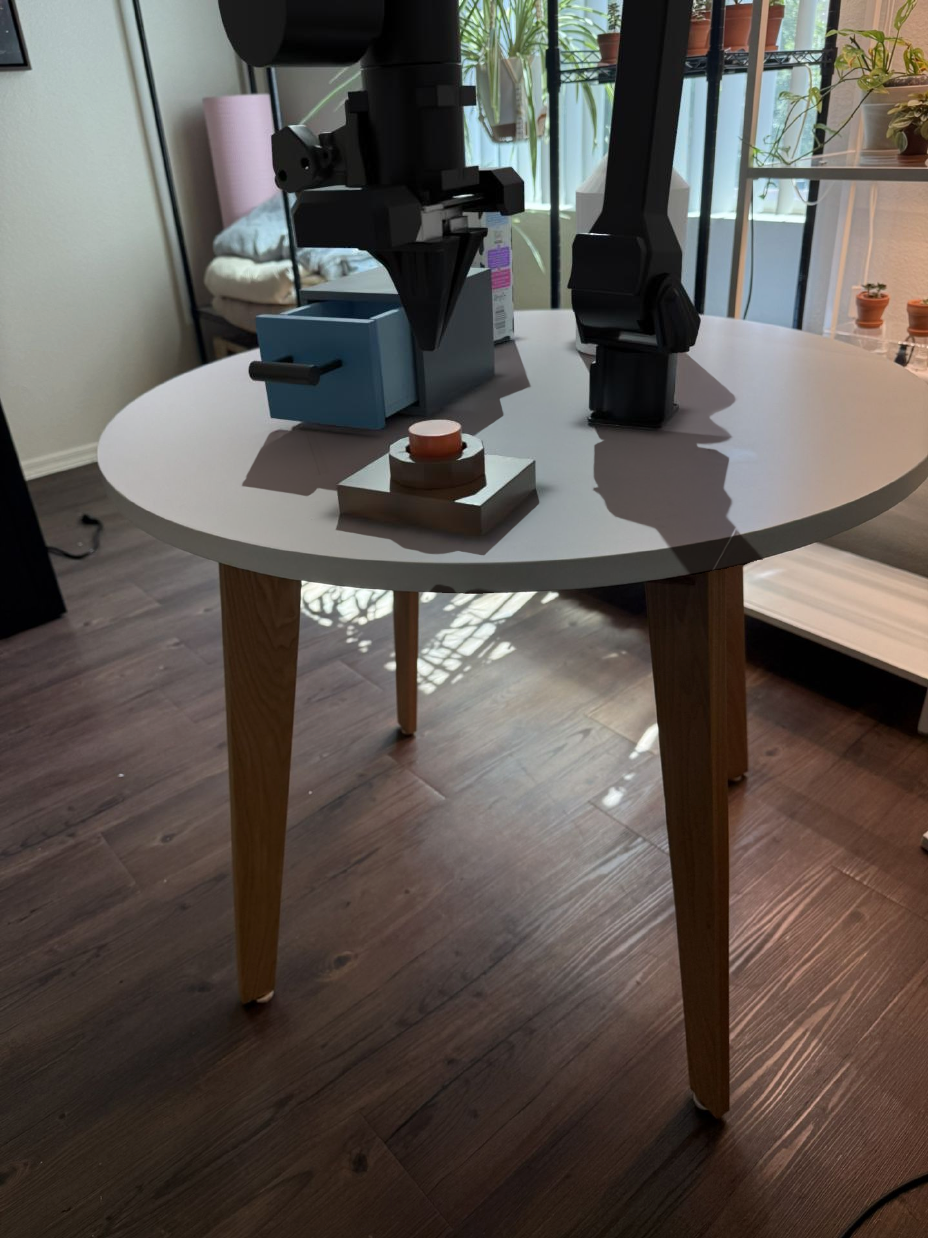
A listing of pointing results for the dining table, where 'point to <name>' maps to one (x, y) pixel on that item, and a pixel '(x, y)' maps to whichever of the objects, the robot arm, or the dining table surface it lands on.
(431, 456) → the button
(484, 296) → the drawer cabinet
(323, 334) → the blue drawer
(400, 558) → the dining table surface
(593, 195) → the bottle
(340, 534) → the dining table surface
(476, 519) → the control block
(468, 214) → the candy box
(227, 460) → the dining table surface
